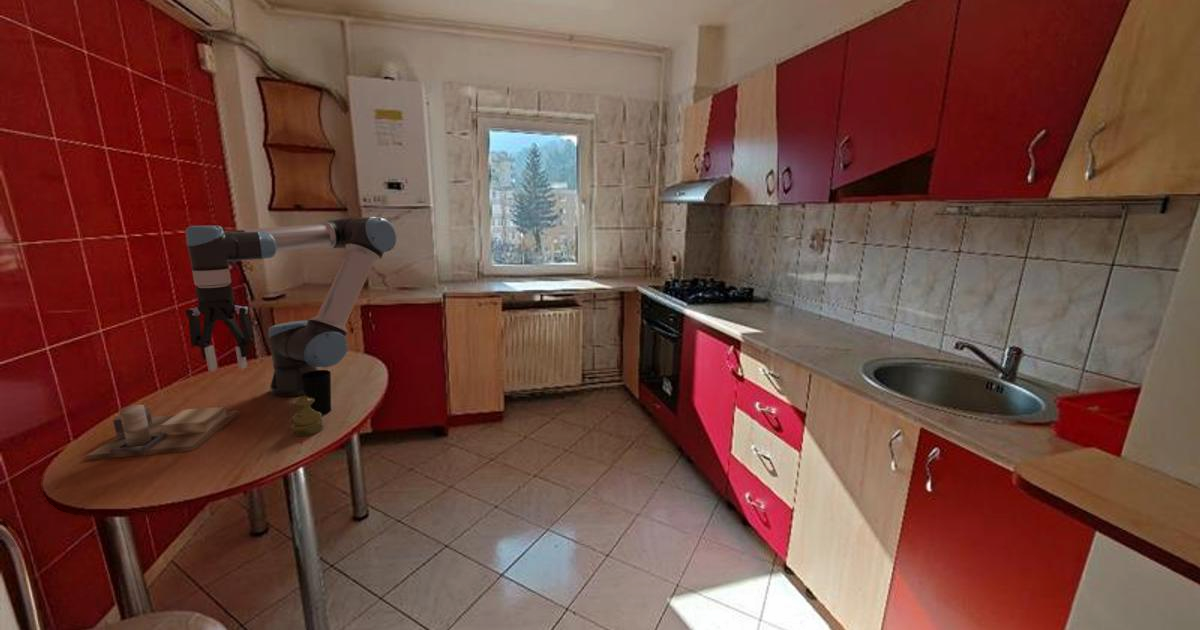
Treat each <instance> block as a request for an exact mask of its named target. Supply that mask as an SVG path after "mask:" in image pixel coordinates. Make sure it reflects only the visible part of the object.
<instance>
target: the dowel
mask: <svg viewBox="0 0 1200 630" xmlns="http://www.w3.org/2000/svg"><path fill="white" fill-rule="evenodd" d="M144 407H145V405H144V404H135V405H129V406H125V407H122V408H120V409H119V410H118V411H119V417H121V421H122V426H123V430H124V434H125V439H126V443H127V447H135V446H145V445H146V444H148V443H149V442H151V441H152V440H151V435H150V431H149V426H148V421H147V417H146V412H145V408H144Z"/></svg>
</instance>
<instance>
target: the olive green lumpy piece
mask: <svg viewBox="0 0 1200 630" xmlns="http://www.w3.org/2000/svg"><path fill="white" fill-rule="evenodd" d="M314 401H315V399H314V398H313V397H309V396H305V395H300V397H298V398H295V400H294V401H293V402H292V404H293V405H294V406H295V407H297V408H298V410H297V411H296V412H295V414H293V415H292V416H291V417H290V420H289V422H290V424H291V426H290V428H291V433H292V435H293V436H295V437H308V436H312V435H315V434H317V433H320V431H322V430H323V428H324V423H323V419H322V417H323V415H322V414H321V412H319V411H317V410H315V409H313V408H311V407H310V406H311V404H312V403H313V402H314Z"/></svg>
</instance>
